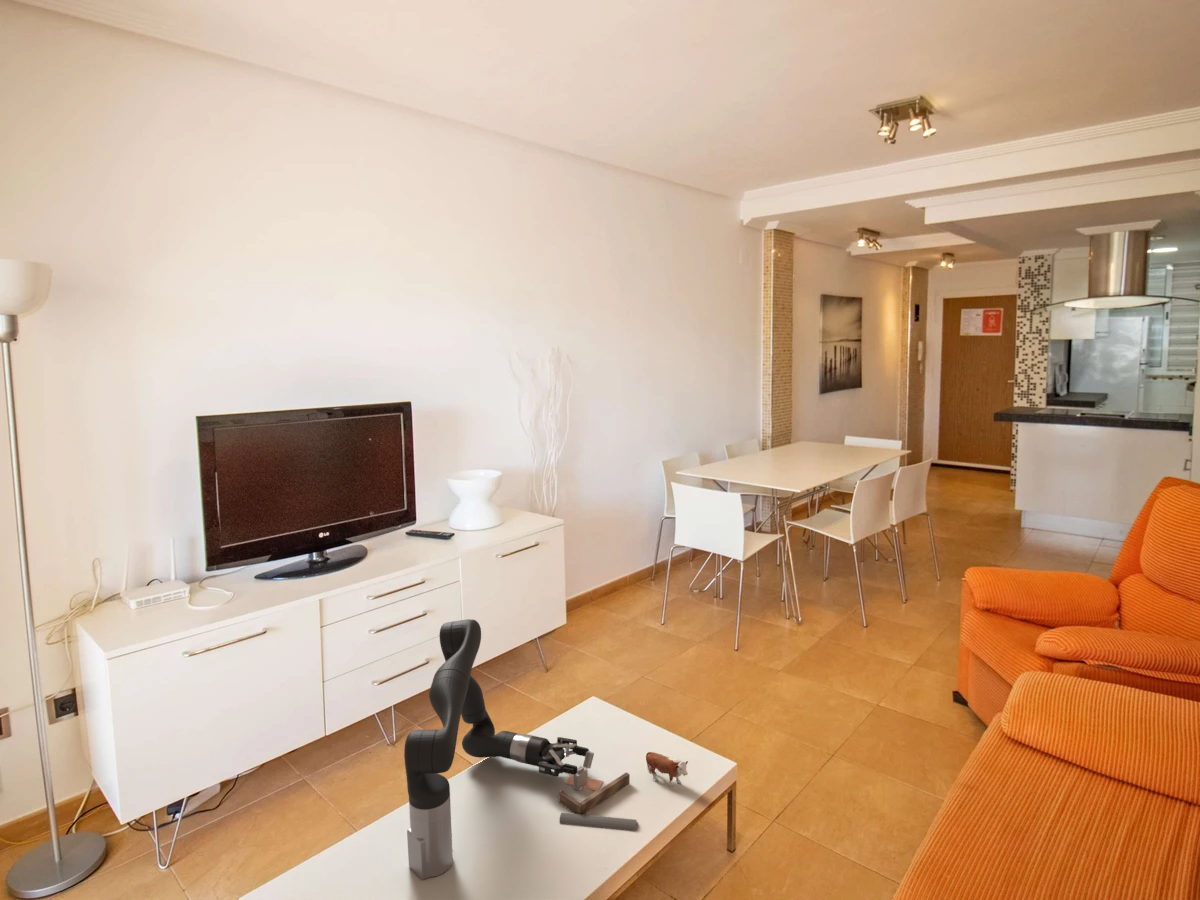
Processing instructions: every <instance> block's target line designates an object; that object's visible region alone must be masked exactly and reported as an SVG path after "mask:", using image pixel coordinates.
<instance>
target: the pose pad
mask: <svg viewBox="0 0 1200 900" xmlns="http://www.w3.org/2000/svg"><path fill="white" fill-rule="evenodd" d="M603 783H604V781H603V780H600V779H596V778H591V777H589V776H587V784H586V785H585V786H583V787H582V788H583V789H585V790H590V791H594V792H597V791H598V790H600V789H601V787H602V785H603ZM565 785H569V786H573V787H574V774H569V776H568V778H567V779H566V781H565ZM582 788H581V789H582Z"/></svg>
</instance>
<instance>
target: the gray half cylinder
mask: <svg viewBox="0 0 1200 900" xmlns="http://www.w3.org/2000/svg"><path fill="white" fill-rule="evenodd" d="M559 824H560V825H567V826H577V827H587V828H594V829H595V828H598V829H604V830H605V829H606V830H616V831H624V832H625V831H626V832H635V831H636V827H637V819H632V818H622V817H611V816H603V815H592V814H591V815H590V814H584V815H582V814H574V813H573V812H571V813H570V812H560V815H559Z"/></svg>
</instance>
